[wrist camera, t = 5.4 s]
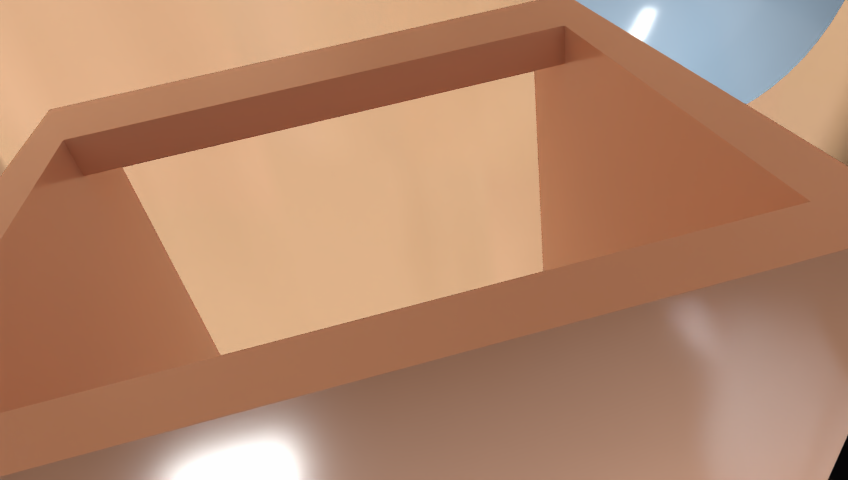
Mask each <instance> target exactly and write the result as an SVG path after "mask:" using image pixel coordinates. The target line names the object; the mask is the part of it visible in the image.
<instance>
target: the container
mask: <svg viewBox="0 0 848 480" xmlns="http://www.w3.org/2000/svg"><path fill="white" fill-rule="evenodd" d="M532 71H534V77H535V99H536V121H537V143H538V165H539V187H540V209H541V231H542V253H543V272H539V273H535V274H531V275H527V276H524V277H520V278H516V279H512V280H508V281H504V282H501V283H497V284H493V285H489V286H485V287H481V288H478V289H474V290H470V291H466V292H462V293H458V294H455V295H451V296H447V297H443V298H439V299H435V300H432V301H428V302H424V303H420V304H416V305H412V306H409V307H405V308H401V309H397V310H393V311H389V312H386V313H382V314H378V315H374V316H370V317H366V318H363V319H359V320H355V321H351V322H347V323H343V324H340V325H336V326H332V327H328V328H324V329H320V330H317V331H313V332H309V333H305V334H301V335H297V336H294V337H290V338H286V339H282V340H278V341H274V342H271V343H267V344H263V345H259V346H255V347H251V348H248V349H244V350H240V351H236V352H232V353H228V354H225V355H220V353H219V352H218V350H217V348H216V346H215V344H214V342H213V340H212V338H211V336H210V334H209V332H208V330H207V329H206V327H205V325H204V323H203V321H202V319H201V317H200V315H199V313H198V311H197V309H196V308H195V306H194V304H193V302H192V300H191V298H190V296H189V294H188V292H187V290H186V288H185V286H184V285H183V283H182V281H181V279H180V277H179V275H178V273H177V271H176V269H175V267H174V265H173V263H172V262H171V260H170V258H169V256H168V254H167V252H166V250H165V248H164V246H163V244H162V242H161V241H160V239H159V237H158V235H157V233H156V231H155V229H154V227H153V225H152V223H151V221H150V219H149V218H148V216H147V214H146V212H145V210H144V208H143V206H142V204H141V202H140V200H139V198H138V196H137V195H136V193H135V191H134V189H133V187H132V185H131V183H130V181H129V179H128V177H127V175H126V174H125V172H124V170H123V168H122V167H126V166H130V165H134V164H139V163H143V162H147V161H151V160H156V159H160V158H164V157H168V156H173V155H177V154H181V153H186V152H190V151H194V150H198V149H203V148H207V147H211V146H216V145H220V144H224V143H228V142H233V141H237V140H241V139H245V138H250V137H254V136H258V135H263V134H267V133H271V132H275V131H280V130H284V129H288V128H292V127H297V126H301V125H305V124H310V123H314V122H318V121H322V120H327V119H331V118H335V117H340V116H344V115H348V114H352V113H357V112H361V111H365V110H369V109H374V108H378V107H382V106H387V105H391V104H395V103H399V102H404V101H408V100H412V99H417V98H421V97H425V96H429V95H434V94H438V93H442V92H446V91H451V90H455V89H459V88H464V87H468V86H472V85H476V84H481V83H485V82H489V81H493V80H498V79H502V78H506V77H511V76H515V75H519V74H523V73H528V72H532ZM847 436H848V166H846V165H845V164H843V163H842V162H840V161H838V160H837V159H835V158H833V157H832V156H830V155H828V154H827V153H825V152H823V151H822V150H820V149H819V148H817V147H815V146H814V145H812V144H810V143H809V142H807V141H805V140H804V139H802V138H800V137H799V136H797V135H796V134H794V133H792V132H791V131H789V130H787V129H786V128H784V127H782V126H781V125H779V124H777V123H776V122H774V121H773V120H771V119H769V118H768V117H766V116H764V115H763V114H761V113H759V112H758V111H756V110H754V109H753V108H751V107H750V106H748V105H746V104H745V103H743V102H741V101H740V100H738V99H736V98H735V97H733V96H731V95H730V94H728V93H727V92H725V91H723V90H722V89H720V88H718V87H717V86H715V85H713V84H712V83H710V82H708V81H707V80H705V79H704V78H702V77H700V76H699V75H697V74H695V73H694V72H692V71H690V70H689V69H687V68H685V67H684V66H682V65H681V64H679V63H677V62H676V61H674V60H672V59H671V58H669V57H667V56H666V55H664V54H662V53H661V52H659V51H657V50H656V49H654V48H653V47H651V46H649V45H648V44H646V43H644V42H643V41H641V40H639V39H638V38H636V37H634V36H633V35H631V34H630V33H628V32H626V31H625V30H623V29H621V28H620V27H618V26H616V25H615V24H613V23H611V22H610V21H608V20H607V19H605V18H603V17H602V16H600V15H598V14H597V13H595V12H593V11H592V10H590V9H588V8H587V7H585V6H584V5H582V4H580V3H579V2H577V1H575V0H536V1H531V2H527V3H522V4H518V5H514V6H509V7H505V8H500V9H496V10H491V11H487V12H482V13H478V14H473V15H469V16H465V17H460V18H456V19H451V20H447V21H442V22H438V23H433V24H429V25H424V26H420V27H416V28H411V29H407V30H402V31H398V32H393V33H389V34H384V35H380V36H375V37H371V38H367V39H362V40H358V41H353V42H349V43H344V44H340V45H335V46H331V47H326V48H322V49H318V50H313V51H309V52H304V53H300V54H295V55H291V56H286V57H282V58H277V59H273V60H269V61H264V62H260V63H255V64H251V65H246V66H242V67H237V68H233V69H228V70H224V71H220V72H215V73H211V74H206V75H202V76H197V77H193V78H188V79H184V80H179V81H175V82H171V83H166V84H162V85H157V86H153V87H148V88H144V89H139V90H135V91H130V92H126V93H122V94H117V95H113V96H108V97H104V98H99V99H95V100H90V101H86V102H81V103H77V104H73V105H68V106H64V107H59V108H55V109H50V110H49V111H48V113H47V114H46V115H45V117H44V118H43V119H42V121H41V122H40V123H39V125H38V126H37V127H36V129H35V130H34V131H33V133H32V134H31V136H30V137H29V138H28V140H27V141H26V142H25V144H24V145H23V146H22V148H21V149H20V150H19V152H18V153H17V154H16V156H15V157H14V158H13V160H12V161H11V163H10V164H9V165H8V167H7V168H6V169H5V171H4V172H3V173H2V175H1V176H0V480H828V478H829V476H830V474H831V471H832V469H833V467H834V465H835V462H836V460H837V458H838V456H839V454H840V451H841V449H842V447H843V445H844V442H845V440H846V438H847Z"/></svg>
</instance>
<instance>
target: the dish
mask: <svg viewBox="0 0 848 480" xmlns="http://www.w3.org/2000/svg"><path fill="white" fill-rule="evenodd" d="M575 1H577V2H579V3H580V4H582V5H584V6H585V7H587V8H588V9H590V10H592V11H593V12H595V13H597V14H598V15H600V16H602V17H603V18H605V19H607V20H608V21H610V22H611V23H613V24H615V25H616V26H618V27H620V28H621V29H623V30H625V31H626V32H628V33H630V34H631V35H633V36H634V37H636V38H638V39H639V40H641V41H643V42H644V43H646V44H648V45H649V46H651V47H653V48H654V49H656V50H657V51H659V52H661V53H662V54H664V55H666V56H667V57H669V58H671V59H672V60H674V61H676V62H677V63H679V64H681V65H682V66H684V67H685V68H687V69H689V70H690V71H692V72H694V73H695V74H697V75H699V76H700V77H702V78H704V79H705V80H707V81H708V82H710V83H712V84H713V85H715V86H717V87H718V88H720V89H722V90H723V91H725V92H727V93H728V94H730V95H731V96H733V97H735V98H736V99H738V100H740V101H741V102H743V103H745V104H747V103H749V102H751V101H753V100H754V99H756V98H757V97H759V96H760V95H762V94H763V93H764V92H766V91H767V90H769V89H770V88H771V87H773V86H774V85H775V84H776V83H777V82H779V81H780V80H781V79H782V78H783V77H784V76H786V75H787V74H788V73H789V72H790V71H791V70H792V69H793V68H794V67H795V66H796V65H797V64H798V63H799V62H800V61H801V60H802V59H803V58H804V57H805V56H806V54H807V53H808V52H809V51H810V50H811V48H812V47H813V46H814V45H815V44H816V43H817V41H818V40H819V39H820V37H821V36H822V35H823V33H824V32H825V30H826V29H827V28H828V26H829V25H830V23H831V22H832V20H833V19H834V17H835V15H836V14H837V12H838V10H839V9H840V7H841V5H842V4H843V2H844V0H575Z"/></svg>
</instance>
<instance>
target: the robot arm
mask: <svg viewBox="0 0 848 480" xmlns="http://www.w3.org/2000/svg"><path fill="white" fill-rule="evenodd" d="M828 480H848V436H847V438H846V440H845V442H844V445H843V447H842V449H841V451H840V454H839V456H838V458H837V460H836V462H835V465H834V467H833V469H832V471H831V474H830V476H829V478H828Z"/></svg>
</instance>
